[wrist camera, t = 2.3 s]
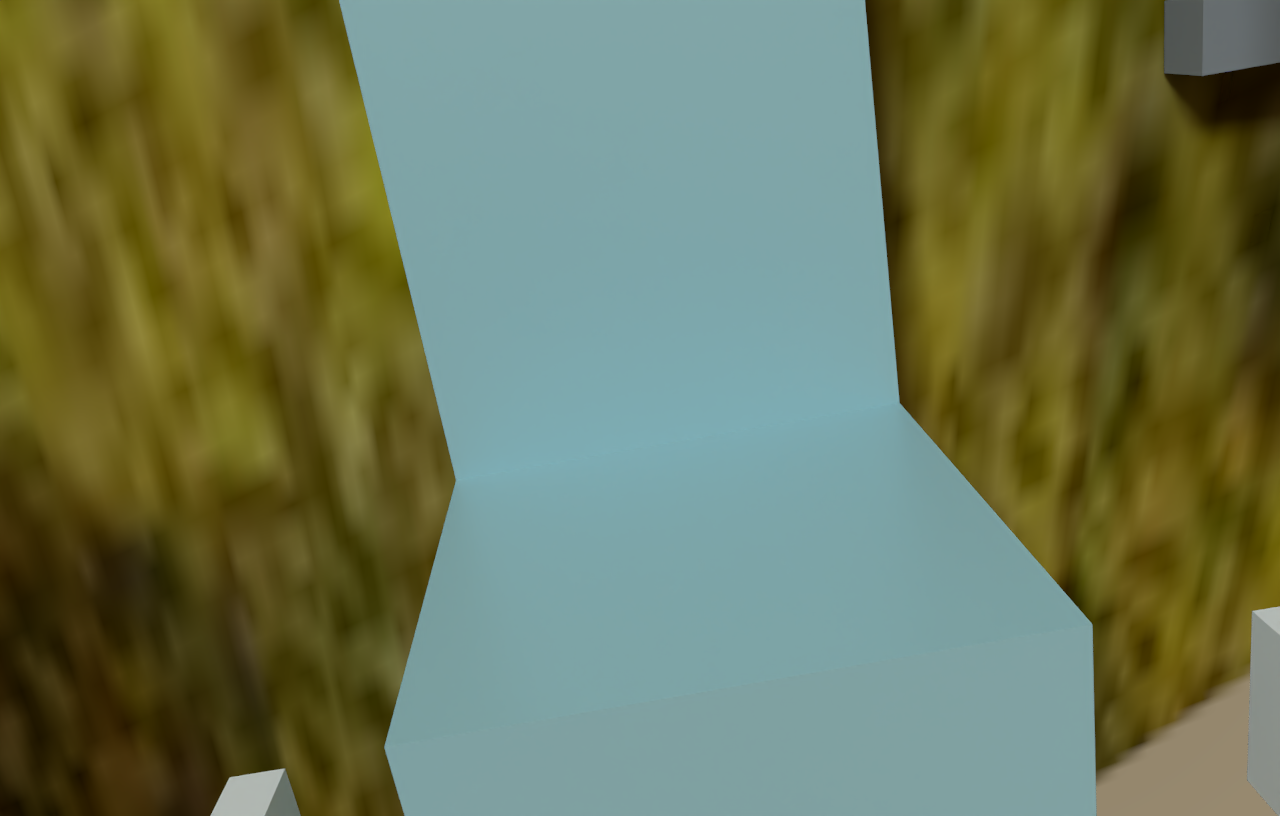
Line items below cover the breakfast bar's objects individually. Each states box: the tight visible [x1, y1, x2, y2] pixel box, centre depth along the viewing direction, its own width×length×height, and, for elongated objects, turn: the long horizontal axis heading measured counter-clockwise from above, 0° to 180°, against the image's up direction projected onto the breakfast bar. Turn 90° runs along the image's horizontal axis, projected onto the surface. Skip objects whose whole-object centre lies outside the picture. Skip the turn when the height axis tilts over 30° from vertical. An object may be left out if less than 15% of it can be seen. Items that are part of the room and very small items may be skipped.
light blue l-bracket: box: [339, 0, 1097, 816], centre depth 14 cm, size 23×8×9 cm, turn 9°
